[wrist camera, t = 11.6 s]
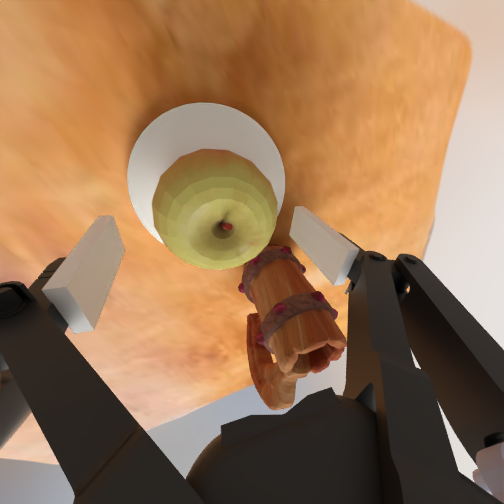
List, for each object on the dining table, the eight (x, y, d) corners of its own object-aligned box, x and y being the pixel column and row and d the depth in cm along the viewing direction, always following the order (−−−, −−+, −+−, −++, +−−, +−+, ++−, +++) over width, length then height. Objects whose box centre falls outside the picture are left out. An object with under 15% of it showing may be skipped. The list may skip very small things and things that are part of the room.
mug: (252, 227, 24) (314, 338, 13) (303, 241, 28) (389, 338, 16) (216, 307, 31) (234, 428, 19) (260, 310, 34) (299, 415, 23)
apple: (251, 128, 17) (288, 139, 11) (267, 224, 23) (297, 267, 17) (137, 159, 16) (106, 190, 10) (185, 250, 22) (184, 305, 16)
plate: (150, 257, 23) (149, 264, 22) (105, 92, 14) (99, 91, 13) (271, 246, 27) (274, 251, 26) (292, 111, 18) (298, 111, 17)
